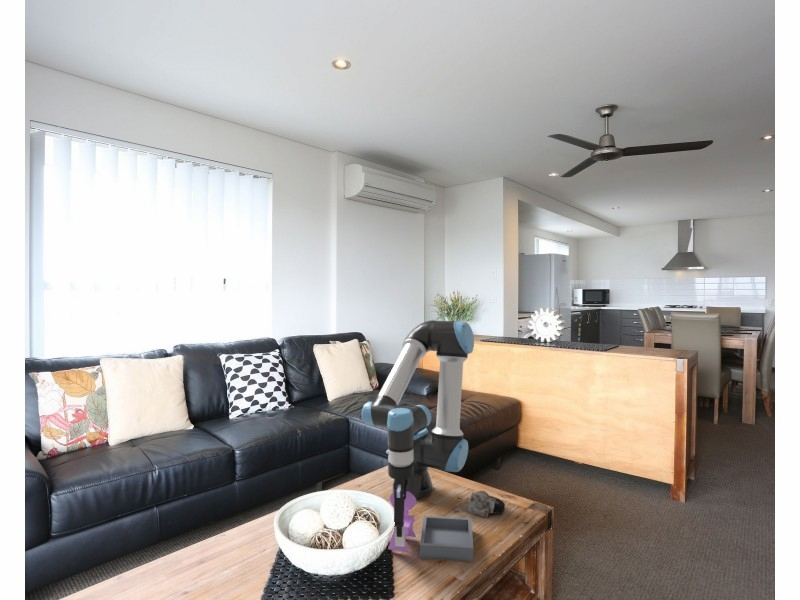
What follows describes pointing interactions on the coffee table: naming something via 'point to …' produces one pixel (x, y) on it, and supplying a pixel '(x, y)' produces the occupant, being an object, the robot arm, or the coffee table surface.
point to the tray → (446, 539)
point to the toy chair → (408, 521)
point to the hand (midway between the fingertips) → (401, 536)
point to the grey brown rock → (485, 504)
